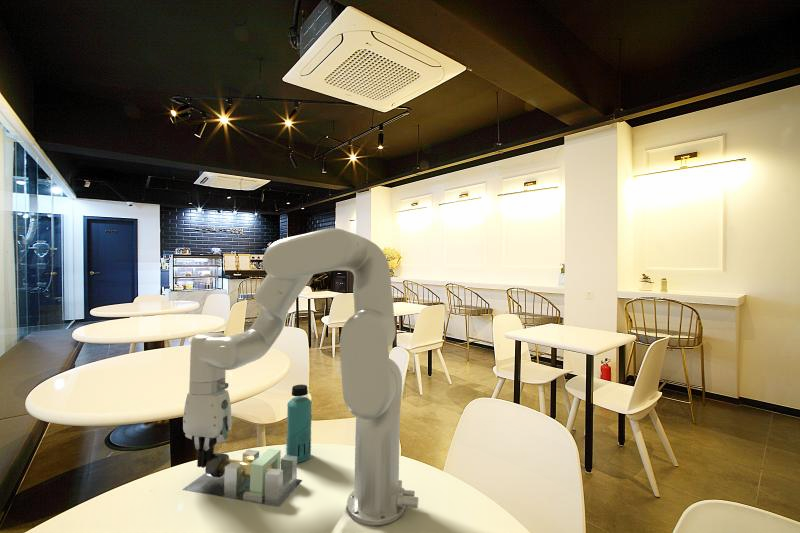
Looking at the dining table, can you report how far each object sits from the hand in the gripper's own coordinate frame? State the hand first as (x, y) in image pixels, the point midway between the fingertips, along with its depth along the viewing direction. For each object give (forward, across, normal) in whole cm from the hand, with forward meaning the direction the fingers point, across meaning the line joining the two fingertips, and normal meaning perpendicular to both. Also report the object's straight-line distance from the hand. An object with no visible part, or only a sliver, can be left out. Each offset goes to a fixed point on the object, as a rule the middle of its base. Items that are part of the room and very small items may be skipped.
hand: (205, 464), depth 84 cm
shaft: (+2, -10, 0) cm, 10 cm away
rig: (+4, -12, 0) cm, 12 cm away
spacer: (+3, -16, 0) cm, 16 cm away
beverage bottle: (+5, -16, -14) cm, 22 cm away
